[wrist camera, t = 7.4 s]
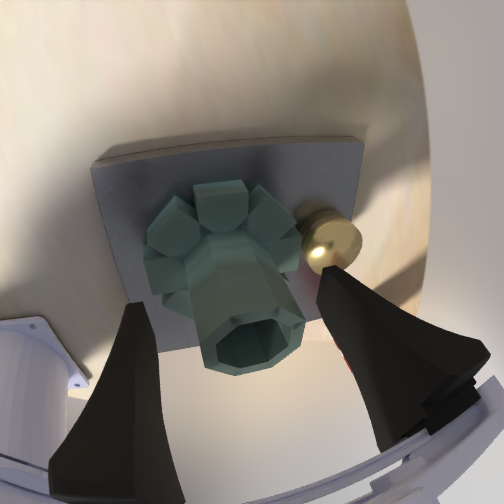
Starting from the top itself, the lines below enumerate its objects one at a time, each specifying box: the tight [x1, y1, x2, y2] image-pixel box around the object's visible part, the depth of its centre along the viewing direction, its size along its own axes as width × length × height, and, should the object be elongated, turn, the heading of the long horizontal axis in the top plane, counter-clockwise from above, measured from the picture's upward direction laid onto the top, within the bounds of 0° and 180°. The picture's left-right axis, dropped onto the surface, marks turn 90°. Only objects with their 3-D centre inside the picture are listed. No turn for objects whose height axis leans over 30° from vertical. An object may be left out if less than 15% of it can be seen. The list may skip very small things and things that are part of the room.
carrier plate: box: [90, 136, 364, 353], centre depth 14 cm, size 12×12×5 cm
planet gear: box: [143, 179, 306, 376], centre depth 12 cm, size 7×7×6 cm
